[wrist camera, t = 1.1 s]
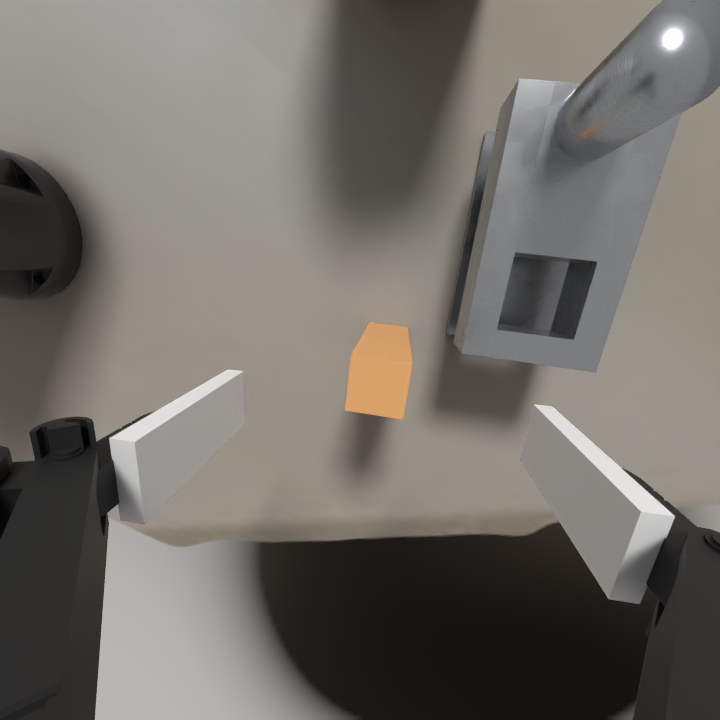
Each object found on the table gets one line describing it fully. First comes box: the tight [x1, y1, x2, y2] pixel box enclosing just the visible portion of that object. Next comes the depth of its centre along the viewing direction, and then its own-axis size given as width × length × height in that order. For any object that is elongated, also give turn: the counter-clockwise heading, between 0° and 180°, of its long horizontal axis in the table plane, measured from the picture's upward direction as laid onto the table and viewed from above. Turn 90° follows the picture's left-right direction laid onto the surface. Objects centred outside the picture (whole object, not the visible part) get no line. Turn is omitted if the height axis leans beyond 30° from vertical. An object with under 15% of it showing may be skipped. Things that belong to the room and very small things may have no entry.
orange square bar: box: [345, 322, 412, 420], centre depth 29 cm, size 4×4×14 cm
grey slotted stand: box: [446, 0, 720, 372], centre depth 24 cm, size 10×18×16 cm, turn 173°
